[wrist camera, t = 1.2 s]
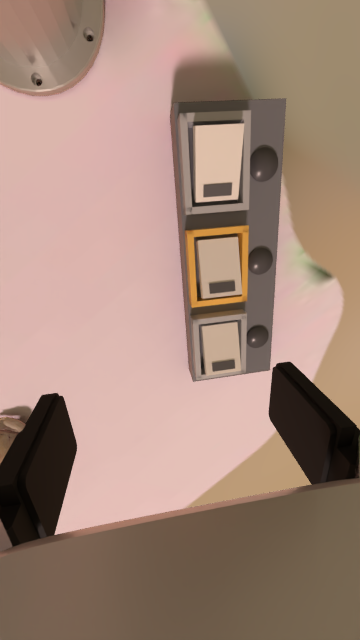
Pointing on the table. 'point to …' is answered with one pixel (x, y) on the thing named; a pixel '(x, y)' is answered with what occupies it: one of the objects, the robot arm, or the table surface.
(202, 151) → the rocker
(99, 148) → the table surface
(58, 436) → the robot arm
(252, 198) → the rocker switch panel
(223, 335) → the rocker
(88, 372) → the table surface
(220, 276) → the rocker middle
